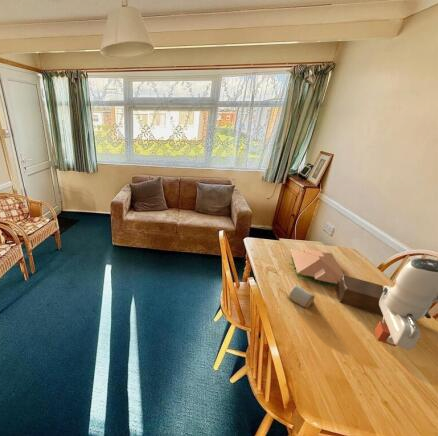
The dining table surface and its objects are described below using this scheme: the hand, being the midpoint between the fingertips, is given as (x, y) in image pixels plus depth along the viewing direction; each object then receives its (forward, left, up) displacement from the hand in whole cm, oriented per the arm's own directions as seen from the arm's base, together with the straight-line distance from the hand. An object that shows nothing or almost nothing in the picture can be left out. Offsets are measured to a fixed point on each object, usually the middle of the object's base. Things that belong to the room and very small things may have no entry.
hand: (386, 334), depth 78 cm
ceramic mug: (+22, -20, -14) cm, 33 cm away
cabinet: (-1, -33, -13) cm, 36 cm away
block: (0, 0, -2) cm, 2 cm away
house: (+15, -54, -14) cm, 58 cm away
